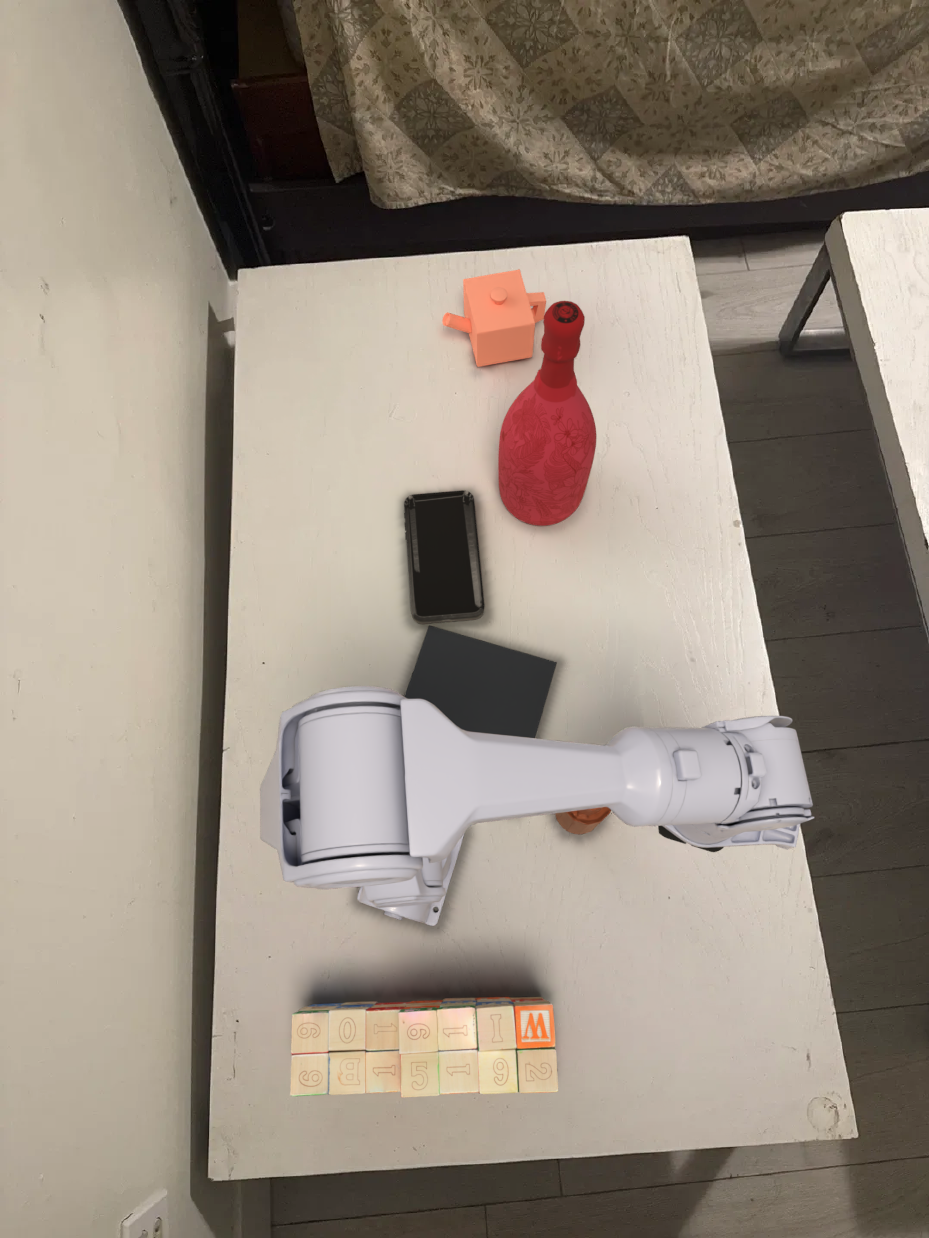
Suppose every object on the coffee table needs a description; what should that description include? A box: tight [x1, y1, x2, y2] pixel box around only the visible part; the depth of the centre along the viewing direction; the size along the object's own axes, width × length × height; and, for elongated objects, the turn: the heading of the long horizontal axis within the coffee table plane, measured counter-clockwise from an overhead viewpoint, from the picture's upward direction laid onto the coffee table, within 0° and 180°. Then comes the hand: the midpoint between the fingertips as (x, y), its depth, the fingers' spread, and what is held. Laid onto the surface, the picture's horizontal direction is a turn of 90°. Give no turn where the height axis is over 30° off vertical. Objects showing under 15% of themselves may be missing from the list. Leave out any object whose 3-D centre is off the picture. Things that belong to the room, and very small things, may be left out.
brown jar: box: [554, 807, 612, 836], centre depth 81 cm, size 5×5×11 cm
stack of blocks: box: [289, 996, 559, 1098], centre depth 73 cm, size 21×6×12 cm, turn 92°
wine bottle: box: [497, 300, 597, 527], centre depth 84 cm, size 10×10×30 cm
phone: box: [403, 489, 485, 625], centre depth 95 cm, size 8×1×15 cm
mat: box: [404, 624, 557, 738], centre depth 89 cm, size 16×14×1 cm
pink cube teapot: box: [441, 268, 547, 368], centre depth 101 cm, size 8×12×8 cm, turn 101°
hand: (678, 821), depth 76 cm, fingers closed
